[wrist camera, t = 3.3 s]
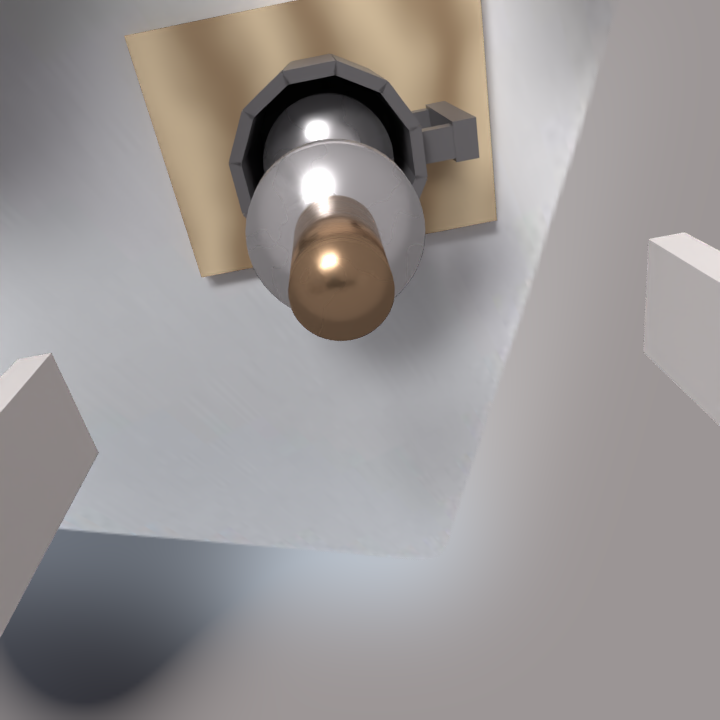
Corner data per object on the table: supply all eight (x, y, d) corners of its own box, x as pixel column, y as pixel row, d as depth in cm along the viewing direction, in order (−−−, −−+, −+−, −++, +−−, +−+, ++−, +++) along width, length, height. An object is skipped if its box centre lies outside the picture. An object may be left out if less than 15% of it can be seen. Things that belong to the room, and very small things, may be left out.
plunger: (281, 235, 34) (248, 422, 18) (249, 106, 31) (174, 188, 15) (400, 212, 34) (480, 379, 18) (381, 80, 31) (456, 133, 14)
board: (204, 271, 46) (201, 277, 45) (129, 35, 39) (124, 35, 38) (492, 215, 46) (496, 220, 45) (473, -35, 38) (477, -37, 37)
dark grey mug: (273, 219, 44) (259, 278, 33) (236, 72, 39) (207, 86, 28) (447, 185, 43) (489, 233, 33) (430, 33, 39) (473, 32, 28)
